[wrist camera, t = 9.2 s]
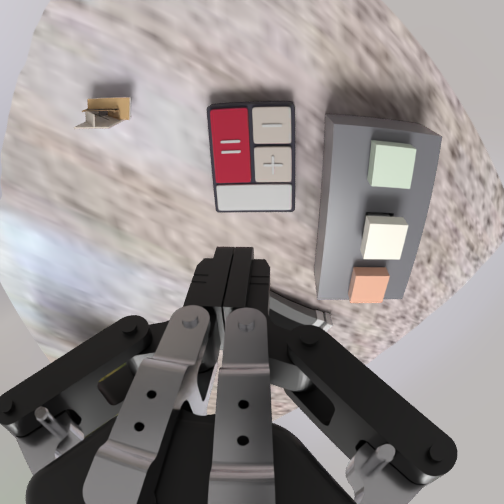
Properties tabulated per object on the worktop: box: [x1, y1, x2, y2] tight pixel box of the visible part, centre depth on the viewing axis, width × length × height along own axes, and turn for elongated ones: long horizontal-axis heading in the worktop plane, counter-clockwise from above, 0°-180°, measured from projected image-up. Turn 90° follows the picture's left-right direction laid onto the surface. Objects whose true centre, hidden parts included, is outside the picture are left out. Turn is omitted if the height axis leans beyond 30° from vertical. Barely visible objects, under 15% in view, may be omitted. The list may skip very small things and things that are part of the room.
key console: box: [314, 114, 442, 300], centre depth 42 cm, size 26×14×7 cm, turn 2°
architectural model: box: [74, 97, 131, 129], centre depth 37 cm, size 3×7×7 cm, turn 83°
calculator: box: [207, 101, 295, 212], centre depth 41 cm, size 11×4×15 cm
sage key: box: [367, 140, 416, 189], centre depth 35 cm, size 5×5×6 cm
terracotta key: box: [348, 267, 390, 303], centre depth 45 cm, size 5×5×6 cm
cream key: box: [360, 212, 408, 260], centre depth 39 cm, size 5×5×6 cm
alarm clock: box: [269, 291, 333, 332], centre depth 61 cm, size 17×5×16 cm
